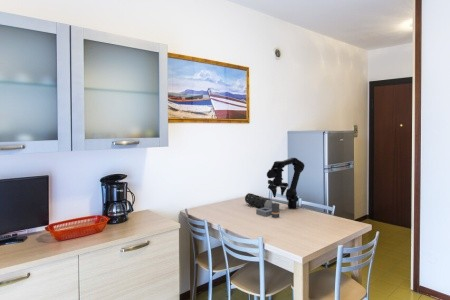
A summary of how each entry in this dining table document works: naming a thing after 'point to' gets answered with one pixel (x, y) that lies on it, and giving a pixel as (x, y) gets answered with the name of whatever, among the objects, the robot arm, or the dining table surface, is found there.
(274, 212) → the plug
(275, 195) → the robot arm
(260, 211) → the socket block
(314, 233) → the dining table surface
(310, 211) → the dining table surface
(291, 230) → the dining table surface
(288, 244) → the dining table surface
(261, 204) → the black cylindrical piece
